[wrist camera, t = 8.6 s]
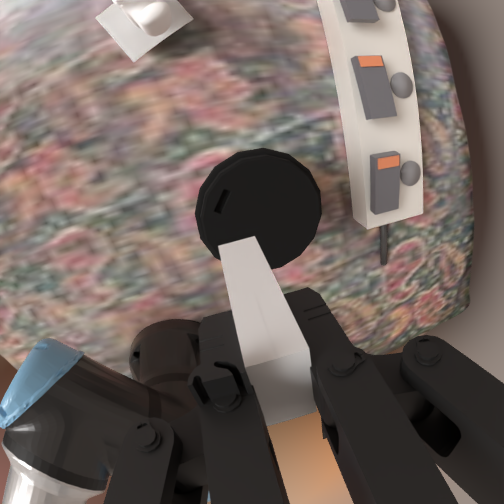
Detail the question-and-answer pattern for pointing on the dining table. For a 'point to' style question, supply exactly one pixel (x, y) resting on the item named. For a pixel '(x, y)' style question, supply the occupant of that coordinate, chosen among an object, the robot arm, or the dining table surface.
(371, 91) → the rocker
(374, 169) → the rocker
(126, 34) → the figurine
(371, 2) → the grey flat rectangular block
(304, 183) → the coffee cup
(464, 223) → the dining table surface
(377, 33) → the power strip
